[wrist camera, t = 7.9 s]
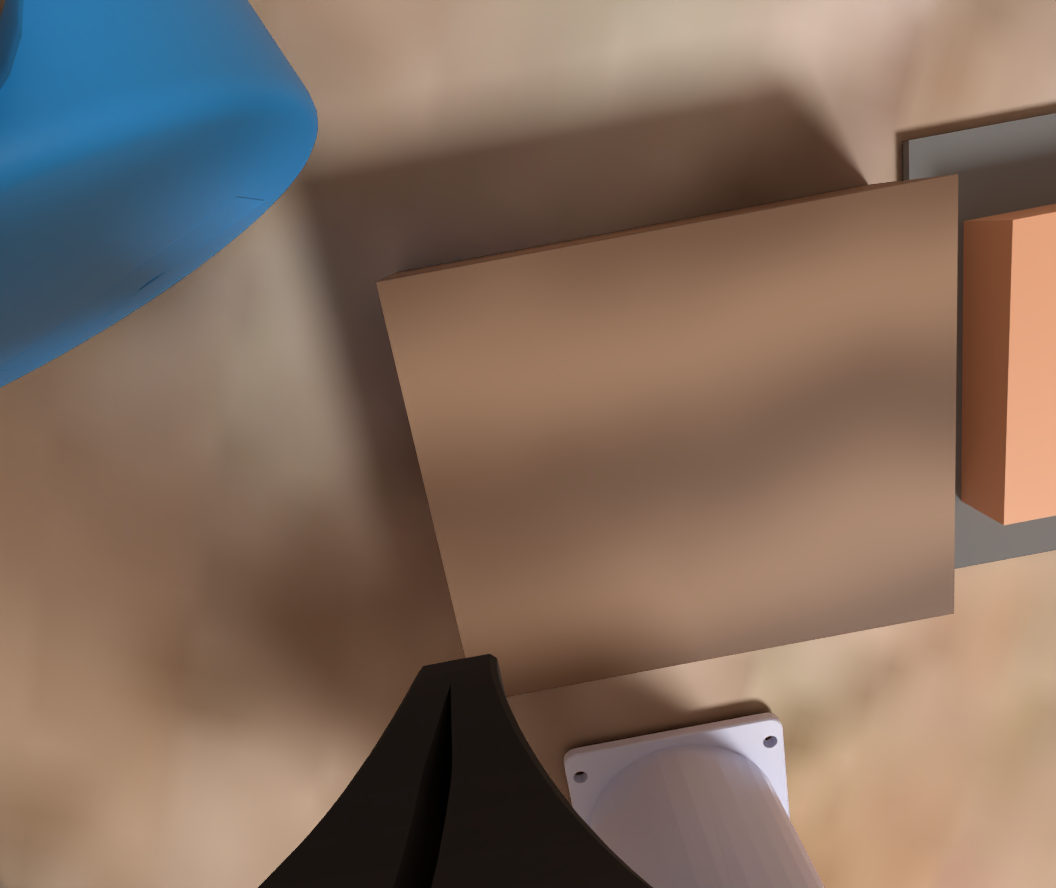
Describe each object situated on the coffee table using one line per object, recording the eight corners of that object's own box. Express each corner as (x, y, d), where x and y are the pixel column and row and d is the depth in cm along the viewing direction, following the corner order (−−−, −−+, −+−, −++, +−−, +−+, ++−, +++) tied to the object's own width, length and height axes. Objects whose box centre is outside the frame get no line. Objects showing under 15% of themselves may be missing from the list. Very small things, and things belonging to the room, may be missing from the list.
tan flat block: (879, 551, 24) (953, 613, 20) (477, 626, 24) (475, 702, 20) (869, 184, 20) (958, 173, 16) (396, 272, 20) (375, 282, 16)
